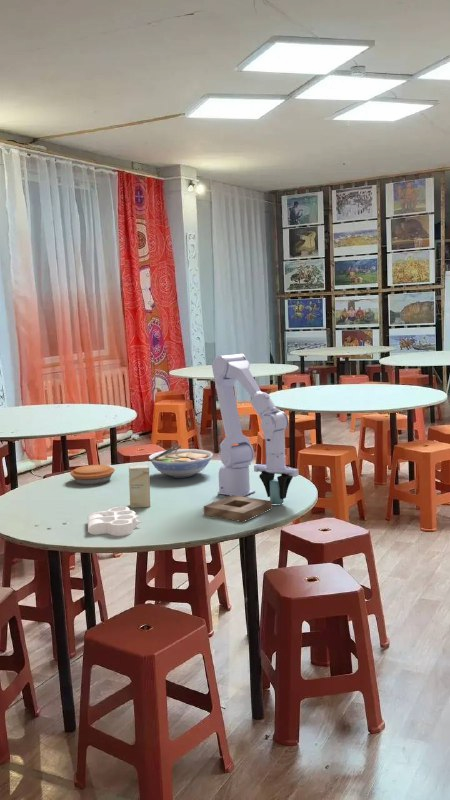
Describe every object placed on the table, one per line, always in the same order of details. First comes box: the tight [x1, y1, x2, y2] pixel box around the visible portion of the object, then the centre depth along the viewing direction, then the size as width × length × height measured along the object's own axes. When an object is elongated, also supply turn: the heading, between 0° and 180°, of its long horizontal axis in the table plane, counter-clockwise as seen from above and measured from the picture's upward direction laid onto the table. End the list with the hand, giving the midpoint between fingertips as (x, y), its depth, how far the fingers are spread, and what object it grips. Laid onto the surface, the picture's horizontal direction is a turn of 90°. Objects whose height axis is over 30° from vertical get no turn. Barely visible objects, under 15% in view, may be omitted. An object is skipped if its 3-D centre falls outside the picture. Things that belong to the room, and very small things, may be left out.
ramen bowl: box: [148, 445, 214, 479], centre depth 255 cm, size 25×23×8 cm
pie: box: [69, 464, 116, 486], centre depth 252 cm, size 16×16×5 cm
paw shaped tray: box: [87, 506, 143, 537], centre depth 198 cm, size 3×18×15 cm
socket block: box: [203, 495, 273, 522], centre depth 208 cm, size 14×14×2 cm
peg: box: [269, 478, 284, 504], centre depth 215 cm, size 4×4×7 cm
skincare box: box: [128, 464, 151, 509], centre depth 218 cm, size 6×4×12 cm
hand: (276, 497), depth 215 cm, fingers closed on peg, 4 cm apart
